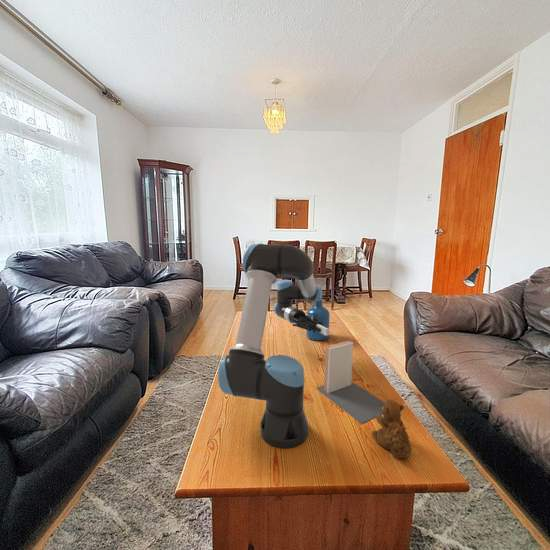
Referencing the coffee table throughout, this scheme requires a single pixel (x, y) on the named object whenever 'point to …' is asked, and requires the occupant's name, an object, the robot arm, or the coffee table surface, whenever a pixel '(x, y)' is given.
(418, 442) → the coffee table surface
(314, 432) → the coffee table surface
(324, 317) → the wine bottle
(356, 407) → the mat
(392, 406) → the stuffed squirrel
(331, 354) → the tile
